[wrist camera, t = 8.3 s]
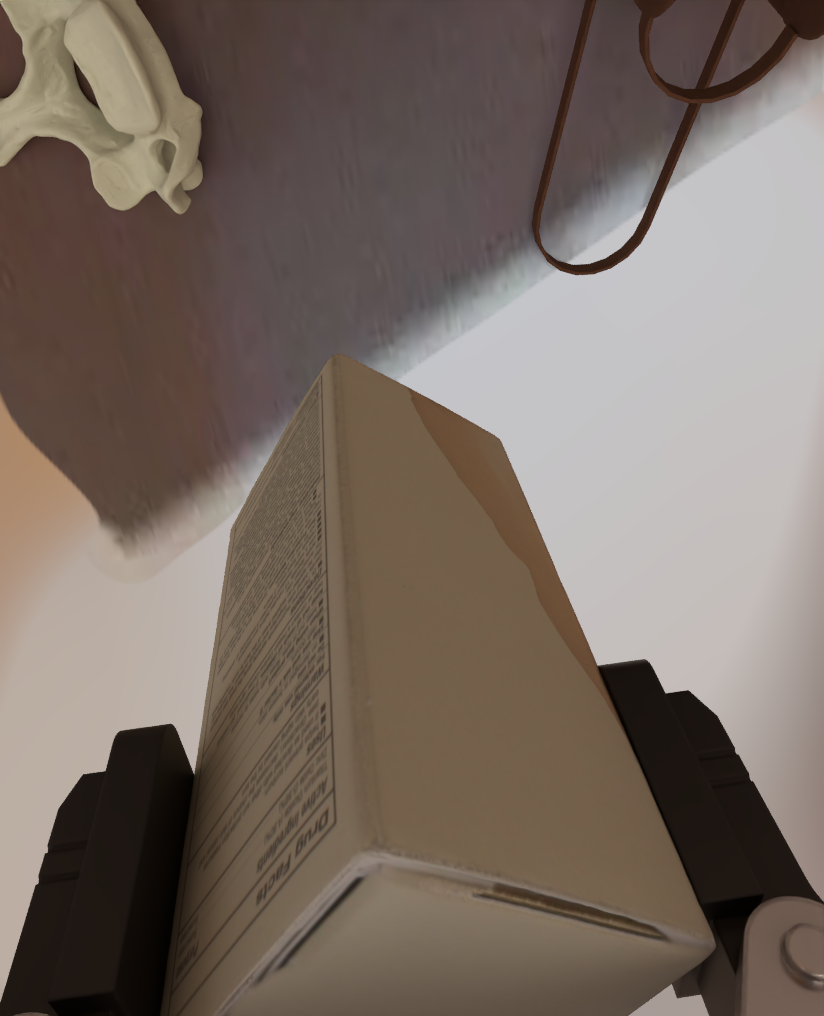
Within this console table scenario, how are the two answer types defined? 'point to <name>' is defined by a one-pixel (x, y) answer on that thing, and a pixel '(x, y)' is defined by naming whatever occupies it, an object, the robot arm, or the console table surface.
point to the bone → (104, 98)
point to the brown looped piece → (806, 12)
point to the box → (412, 749)
